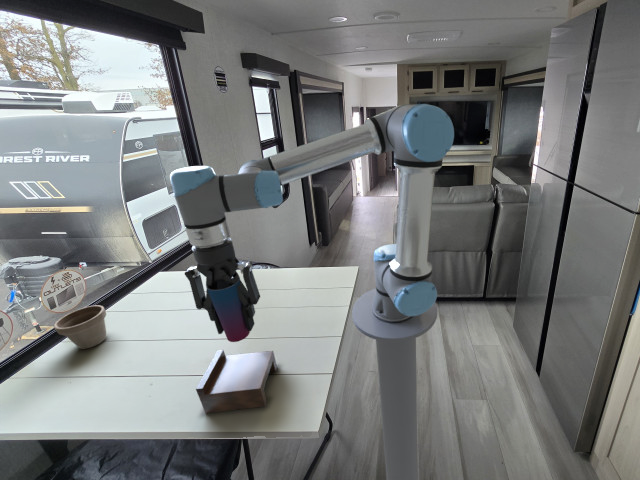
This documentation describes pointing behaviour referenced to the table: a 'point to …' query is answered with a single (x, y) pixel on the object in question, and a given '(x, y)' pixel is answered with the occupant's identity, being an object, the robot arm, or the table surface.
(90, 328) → the flower pot
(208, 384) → the brown stepped block
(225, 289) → the cup
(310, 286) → the table surface
